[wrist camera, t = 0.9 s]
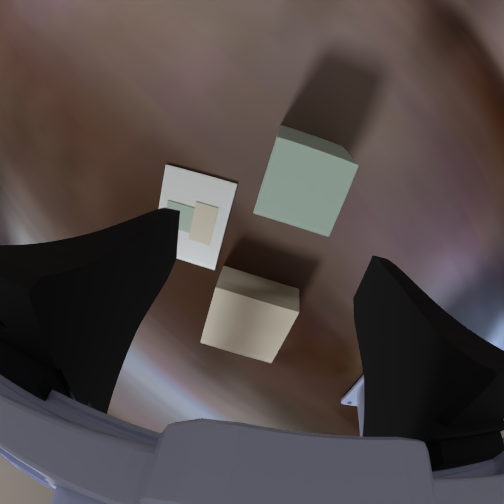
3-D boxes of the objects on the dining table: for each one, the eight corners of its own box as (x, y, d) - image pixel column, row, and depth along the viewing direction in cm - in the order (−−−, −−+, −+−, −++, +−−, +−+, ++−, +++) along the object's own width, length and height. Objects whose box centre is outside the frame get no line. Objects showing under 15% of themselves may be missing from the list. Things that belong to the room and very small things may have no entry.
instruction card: (237, 183, 20) (237, 184, 19) (214, 269, 23) (214, 270, 23) (166, 164, 19) (165, 164, 19) (153, 250, 23) (153, 251, 23)
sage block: (341, 145, 18) (358, 165, 13) (320, 201, 20) (328, 237, 15) (280, 124, 17) (276, 136, 13) (262, 183, 19) (253, 213, 15)
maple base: (299, 286, 23) (299, 312, 21) (273, 337, 27) (271, 362, 24) (224, 263, 23) (215, 286, 21) (208, 317, 26) (200, 342, 24)
